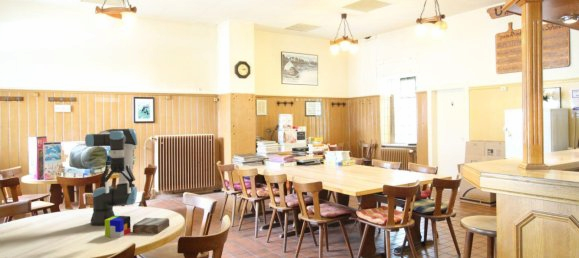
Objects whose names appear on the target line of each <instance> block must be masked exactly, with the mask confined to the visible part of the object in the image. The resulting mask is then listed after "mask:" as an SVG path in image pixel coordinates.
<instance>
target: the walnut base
mask: <svg viewBox="0 0 579 258" xmlns="http://www.w3.org/2000/svg"><path fill="white" fill-rule="evenodd" d="M169 227H170V219H169V218H168V217H167V218H166V217H165V218H164V217H163V218H162V217H144V218H143V219H141V220H139V221H137V222H136V223H134V224H133V225H132V234H160V233H161V232H163V231H164V230H166V229H167V228H169Z"/></svg>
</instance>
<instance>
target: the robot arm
mask: <svg viewBox="0 0 579 258" xmlns="http://www.w3.org/2000/svg"><path fill="white" fill-rule="evenodd" d="M84 141H85V142H84V143H85V146H86V147H92V148H93V147H95V148H96V147H109V155H110V164H107V165H105V168H104V171H103V173H102V175H101V178H100V181H101V182H103V186H101V187H98V188H95V189H93V190H92V209H93V210H92V215H91V218H90V225H92V226H105V220H106V219H108V218H111V217H113V216H116V214H115V212H114V209H113V207H117V206H130V205H132V206H133V205H134V204H136V201H137V195H138V187H137V186H136V185H135V183H134V182H135V181H136V178H135V176H134V173H133V165H134V164H133V161H134V160H133V159H134V158H133V157H134V154H133V153H134V149H136V146H138V137H137V132H136V129H134V128H129V127H128V128H111V129H105V130H102V131H100V132H98V133H89V134H86V135H85V139H84ZM114 174H118V183H117V184H116V185H115V188H114V187H113V186H112V185H110V182H109V180H110V178H112V176H113V175H114Z"/></svg>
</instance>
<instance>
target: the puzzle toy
mask: <svg viewBox="0 0 579 258" xmlns="http://www.w3.org/2000/svg"><path fill="white" fill-rule="evenodd" d="M131 228H132V227H131V216H130V215H115V216H113V217H111V218H108V219H106V220H105V225H104V237H105V238H116V239H119V238H120V239H121V238H124V237H125V236H127V235H129V234H130V233H132V229H131Z"/></svg>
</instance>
